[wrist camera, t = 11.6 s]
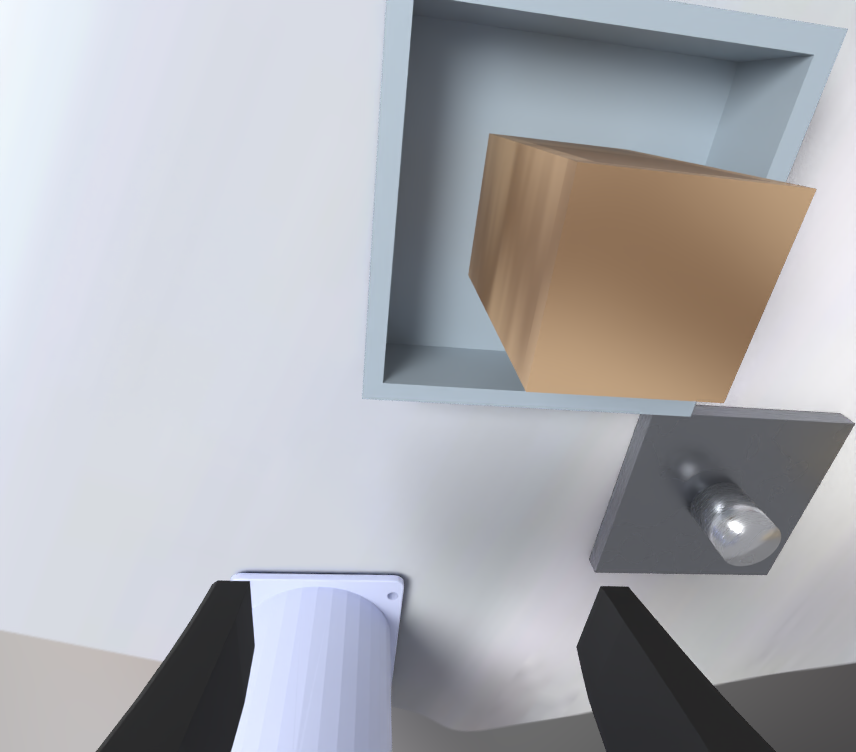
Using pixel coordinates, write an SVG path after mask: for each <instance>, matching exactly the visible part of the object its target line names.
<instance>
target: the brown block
mask: <svg viewBox="0 0 856 752" xmlns="http://www.w3.org/2000/svg"><path fill="white" fill-rule="evenodd" d="M815 192H816V189H815V188H810V187H805V186H800V185H795V184H791V183H786V182H781V181H776V180H771V179H767V178H762V177H757V176H752V175H747V174H743V173H738V172H733V171H728V170H723V169H719V168H714V167H709V166H704V165H699V164H695V163H690V162H685V161H680V160H675V159H671V158H666V157H661V156H656V155H651V154H647V153H642V152H637V151H632V150H627V149H619V148H610V147H602V146H593V145H585V144H576V143H568V142H559V141H551V140H542V139H534V138H525V137H517V136H508V135H500V134H491V133H489V138H488V145H487V151H486V158H485V165H484V172H483V178H482V185H481V192H480V199H479V205H478V212H477V219H476V226H475V232H474V239H473V246H472V253H471V259H470V266H469V273H468V276H469V278H470V280H471V282H472V284H473V286H474V288H475V290H476V292H477V294H478V296H479V298H480V300H481V302H482V304H483V306H484V308H485V310H486V312H487V314H488V316H489V318H490V320H491V322H492V324H493V326H494V328H495V330H496V332H497V334H498V336H499V338H500V340H501V342H502V344H503V346H504V349H505V351H506V353H507V355H508V357H509V359H510V361H511V363H512V365H513V367H514V369H515V371H516V373H517V375H518V377H519V379H520V381H521V383H522V385H523V387H524V389H525V391H526V392H537V393H555V394H572V395H590V396H608V397H626V398H643V399H661V400H679V401H697V402H714V403H724V402H725V399H726V397H727V395H728V392H729V390H730V388H731V386H732V383H733V381H734V379H735V376H736V374H737V372H738V369H739V367H740V365H741V362H742V360H743V358H744V356H745V353H746V351H747V349H748V346H749V344H750V342H751V339H752V337H753V335H754V332H755V330H756V328H757V326H758V323H759V321H760V319H761V316H762V314H763V312H764V309H765V307H766V305H767V302H768V300H769V298H770V296H771V293H772V291H773V289H774V286H775V284H776V282H777V279H778V277H779V275H780V272H781V270H782V268H783V266H784V263H785V261H786V259H787V256H788V254H789V252H790V249H791V247H792V245H793V242H794V240H795V238H796V235H797V233H798V231H799V229H800V226H801V224H802V222H803V219H804V217H805V215H806V212H807V210H808V208H809V205H810V203H811V201H812V199H813V196H814V194H815Z"/></svg>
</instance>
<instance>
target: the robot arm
mask: <svg viewBox="0 0 856 752" xmlns="http://www.w3.org/2000/svg"><path fill="white" fill-rule="evenodd" d="M391 592H394V593H391ZM403 593H404V581H403V579H402V578H401V577H399V576H396V575H342V574H267V573H239V574H235V575H233V576H232V577H231V580H230V581H216V582H215V583H214V584H212V586H211V587H210V589H209V591H208V593H207V594H206V596H205V598H204V600H203V601H202V603H201V604H200V606H199V608H198V609H197V611H196V613H195V614H194V616H193V617H192V619H191V621H190V622H189V624H188V625H187V627H186V628H185V630H184V631H183V633H182V634H181V636H180V637H179V639H178V640H177V642H176V643H175V645H174V646H173V648H172V650H171V651H170V652H169V654H168V655H167V657H166V658H165V660H164V661H163V662H162V664H161V665H160V667H159V668H158V669H157V671H156V672H155V674H154V675H153V677H152V678H151V680H150V681H149V682H148V684H147V685H146V686H145V688H144V689H143V691H142V692H141V694H140V695H139V696H138V698H137V699H136V700H135V702H134V703H133V704H132V706H131V707H130V708H129V710H128V711H127V712H126V713H125V715H124V716H123V717H122V719H121V720H120V721H119V723H118V724H117V725H116V726H115V728H114V729H113V730H112V732H111V733H110V734H109V736H108V737H107V738H106V739H105V741H104V742H103V743H102V745H101V746H100V747H99V748H98V750H97V751H96V752H392V722H391V721H392V720H391V717H392V716H391V686H392V678H393V670H394V662H395V655H396V647H397V639H398V631H399V624H400V616H401V608H402V600H403ZM577 651H578V656H579V660H580V665H581V670H582V674H583V678H584V682H585V687H586V691H587V695H588V699H589V702H590V705H591V708H592V711H593V714H594V717H595V719H596V722H597V725H598V729H599V731H600V734H601V737H602V740H603V743H604V746H605V749H606V752H776V751H775V750H774V749H773V748H772V747H771V746H770V745H769V744H768V743H767V742H766V741H765V740H764V739H763V738H762V737H761V736H760V735H759V734H758V733H757V732H756V731H755V730H754V729H753V728H752V727H751V726H750V725H749V724H748V722H747V721H745V719H744V718H743V717H742V716H741V715H740V714H739V713H738V712H737V711H736V710H735V709H734V708H733V707H732V706H731V704H729V702H728V701H727V700H726V699H725V698H724V697H723V696H722V695H721V694H720V692H718V690H717V689H716V688H715V687H714V686H713V685H712V684H711V682H710V681H709V680H708V679H707V678H706V677H705V676H704V675H703V673H702V672H701V671H700V670H699V669H698V668H697V667H696V666H695V664H694V663H693V662H692V661H691V660H690V659H689V658H688V656H687V655H686V654H685V653H684V652H683V651H682V649H681V648H680V647H679V646H678V645H677V644H676V642H675V641H674V640H673V639H672V638H671V637H670V635H669V634H668V633H667V632H666V631H665V630H664V628H663V627H662V626H661V625H660V624H659V623H658V621H657V620H656V619H655V618H654V617H653V615H652V614H651V613H650V612H649V611H648V610H647V608H646V607H645V606H644V605H643V604H642V602H641V601H640V600H639V599H638V598H637V597H636V595H635V594H634V593H633V592H632V591H631V590H630V588H629V587H616V586H601V587H600V589H599V592H598V594H597V597H596V599H595V602H594V604H593V607H592V609H591V612H590V614H589V617H588V619H587V622H586V624H585V627H584V629H583V632H582V634H581V637H580V639H579V642H578V644H577Z"/></svg>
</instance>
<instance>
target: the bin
mask: <svg viewBox="0 0 856 752" xmlns="http://www.w3.org/2000/svg"><path fill="white" fill-rule="evenodd" d="M847 30H848V29H845V28H839V27H833V26H826V25H820V24H814V23H808V22H801V21H795V20H789V19H782V18H776V17H770V16H764V15H757V14H751V13H745V12H738V11H732V10H726V9H720V8H713V7H707V6H701V5H694V4H688V3H682V2H676V1H669V0H386V12H385V29H384V45H383V62H382V78H381V95H380V111H379V128H378V145H377V161H376V178H375V194H374V211H373V228H372V244H371V261H370V277H369V294H368V310H367V327H366V344H365V360H364V377H363V393H362V399H374V400H392V401H411V402H429V403H448V404H466V405H484V406H503V407H521V408H539V409H558V410H576V411H595V412H613V413H631V414H650V415H668V416H686V417H691V414H692V412H693V409H694V407H695V404H696V402H697V401H679V400H661V399H643V398H626V397H608V396H590V395H572V394H555V393H537V392H526V391H525V389H524V387H523V385H522V383H521V381H520V379H519V377H518V375H517V373H516V371H515V369H514V367H513V365H512V363H511V361H510V359H509V357H508V355H507V353H506V351H505V349H504V346H503V344H502V342H501V340H500V338H499V336H498V334H497V332H496V330H495V328H494V326H493V324H492V322H491V320H490V318H489V316H488V314H487V312H486V310H485V308H484V306H483V304H482V302H481V300H480V298H479V296H478V294H477V292H476V290H475V288H474V286H473V284H472V282H471V280H470V278H469V276H468V273H469V266H470V259H471V253H472V246H473V239H474V232H475V226H476V219H477V212H478V205H479V199H480V192H481V185H482V178H483V172H484V165H485V158H486V151H487V145H488V138H489V133H491V134H500V135H508V136H517V137H525V138H534V139H542V140H551V141H559V142H568V143H576V144H585V145H593V146H602V147H610V148H619V149H627V150H632V151H637V152H642V153H647V154H651V155H656V156H661V157H666V158H671V159H675V160H680V161H685V162H690V163H695V164H699V165H704V166H709V167H714V168H719V169H723V170H728V171H733V172H738V173H743V174H747V175H752V176H757V177H762V178H767V179H771V180H776V181H781V182H786V180H787V178H788V175H789V173H790V171H791V168H792V166H793V163H794V161H795V158H796V156H797V153H798V151H799V148H800V146H801V144H802V141H803V139H804V136H805V134H806V131H807V129H808V126H809V124H810V121H811V119H812V116H813V114H814V112H815V109H816V107H817V104H818V102H819V99H820V97H821V94H822V92H823V89H824V87H825V85H826V82H827V80H828V77H829V75H830V72H831V70H832V67H833V65H834V62H835V60H836V57H837V55H838V53H839V50H840V48H841V45H842V43H843V40H844V38H845V35H846V33H847Z"/></svg>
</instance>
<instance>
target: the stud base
mask: <svg viewBox="0 0 856 752" xmlns="http://www.w3.org/2000/svg"><path fill="white" fill-rule="evenodd" d="M854 425H855V423H853V422H852V421H851V420H849V419H848V418H846V417H845V416H843V415H842V414H840V413H823V412H806V411H789V410H771V409H754V408H736V407H719V406H702V405H695V407H694V409H693V412H692V414H691V417H686V416H668V415H650V414H640V417H639V419H638V422H637V425H636V428H635V431H634V434H633V436H632V439H631V442H630V445H629V448H628V451H627V453H626V456H625V459H624V462H623V465H622V468H621V470H620V473H619V476H618V479H617V482H616V485H615V487H614V490H613V493H612V496H611V499H610V502H609V504H608V507H607V510H606V513H605V516H604V518H603V521H602V524H601V527H600V530H599V533H598V535H597V538H596V541H595V544H594V547H593V550H592V552H591V555H590V558H589V560H590V563H591V565H592V567H593V569H594V571H595V572H596V573H664V574H733V575H767V574H768V572H769V570H770V569H771V567H772V565H773V563H774V562H775V560H776V558H777V557H778V555H779V553H780V551H781V550H782V548H783V546H784V545H785V543H786V541H787V539H788V538H789V536H790V534H791V533H792V531H793V529H794V527H795V526H796V524H797V522H798V521H799V519H800V517H801V515H802V514H803V512H804V510H805V509H806V507H807V505H808V503H809V502H810V500H811V498H812V497H813V495H814V493H815V492H816V490H817V488H818V486H819V485H820V483H821V481H822V480H823V478H824V476H825V474H826V473H827V471H828V469H829V468H830V466H831V464H832V462H833V461H834V459H835V457H836V456H837V454H838V452H839V450H840V449H841V447H842V445H843V444H844V442H845V440H846V438H847V437H848V435H849V433H850V432H851V430H852V428H853V426H854Z"/></svg>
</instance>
